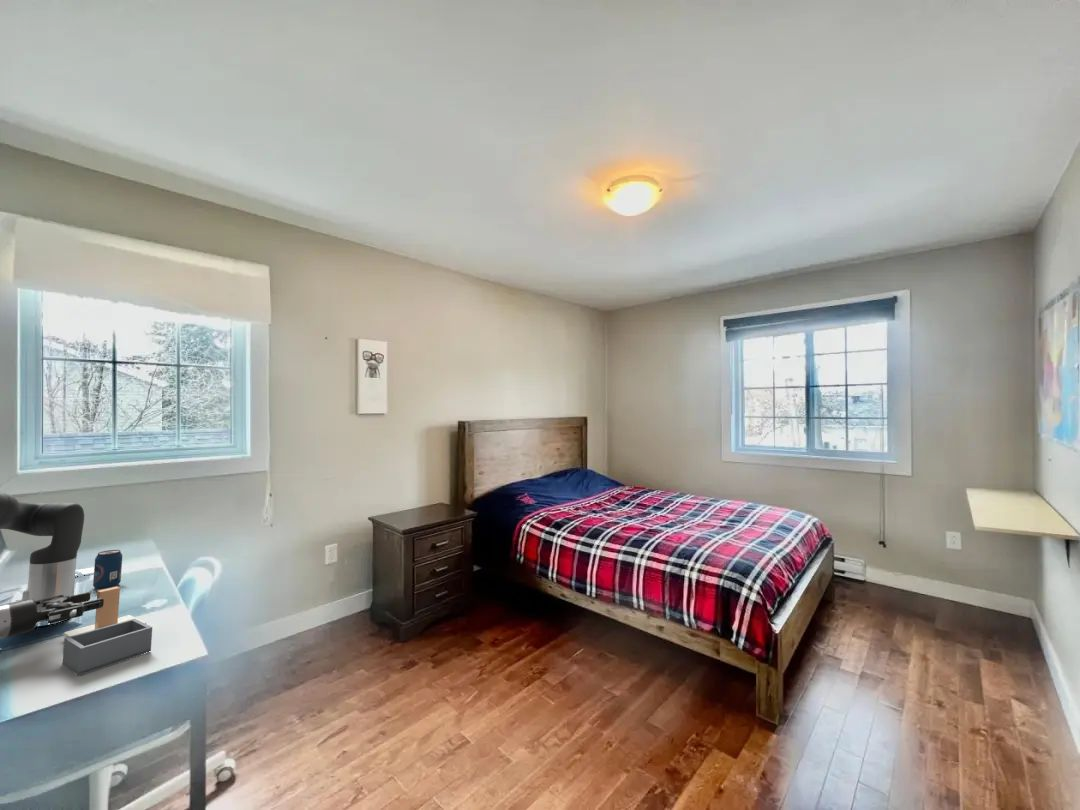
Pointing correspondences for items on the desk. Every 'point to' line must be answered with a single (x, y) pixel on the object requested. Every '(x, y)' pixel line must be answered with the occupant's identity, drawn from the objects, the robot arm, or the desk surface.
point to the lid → (104, 612)
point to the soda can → (107, 569)
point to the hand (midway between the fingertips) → (96, 599)
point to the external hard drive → (86, 571)
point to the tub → (106, 646)
